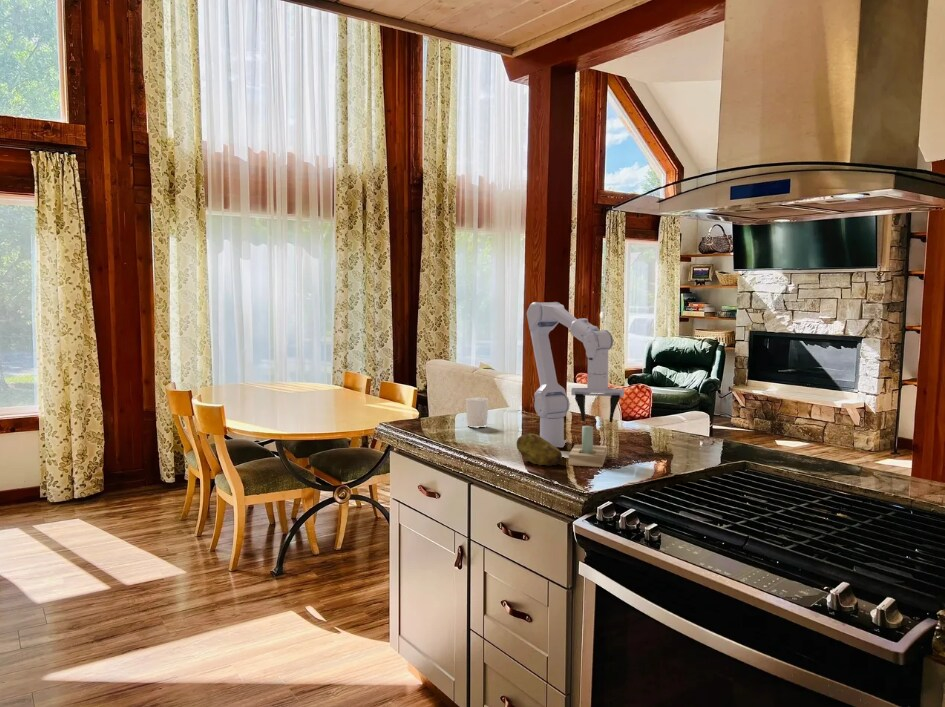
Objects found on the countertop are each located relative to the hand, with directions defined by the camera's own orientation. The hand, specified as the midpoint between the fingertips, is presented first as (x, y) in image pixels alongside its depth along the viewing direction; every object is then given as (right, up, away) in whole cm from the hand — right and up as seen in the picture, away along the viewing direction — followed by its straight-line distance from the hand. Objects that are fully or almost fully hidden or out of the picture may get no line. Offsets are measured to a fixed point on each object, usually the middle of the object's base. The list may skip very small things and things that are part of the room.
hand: (597, 421), depth 201 cm
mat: (-9, -10, +4) cm, 14 cm away
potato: (-17, -11, -7) cm, 22 cm away
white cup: (-34, -7, +49) cm, 60 cm away
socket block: (-3, -11, -3) cm, 12 cm away
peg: (-4, -11, -5) cm, 13 cm away
